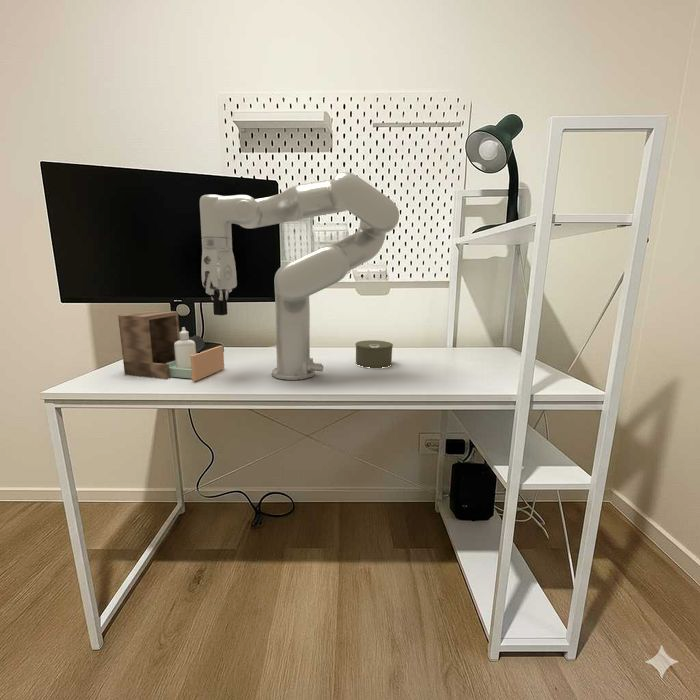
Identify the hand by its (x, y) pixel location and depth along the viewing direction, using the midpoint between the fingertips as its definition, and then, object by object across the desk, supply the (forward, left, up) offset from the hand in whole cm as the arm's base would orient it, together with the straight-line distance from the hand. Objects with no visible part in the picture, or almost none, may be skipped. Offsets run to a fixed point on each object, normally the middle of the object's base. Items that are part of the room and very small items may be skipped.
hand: (220, 314), depth 107 cm
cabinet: (+20, 0, -18) cm, 27 cm away
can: (-38, -27, -18) cm, 50 cm away
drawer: (+11, 0, -17) cm, 21 cm away
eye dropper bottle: (+12, 0, -16) cm, 20 cm away
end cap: (+24, -18, -18) cm, 35 cm away
